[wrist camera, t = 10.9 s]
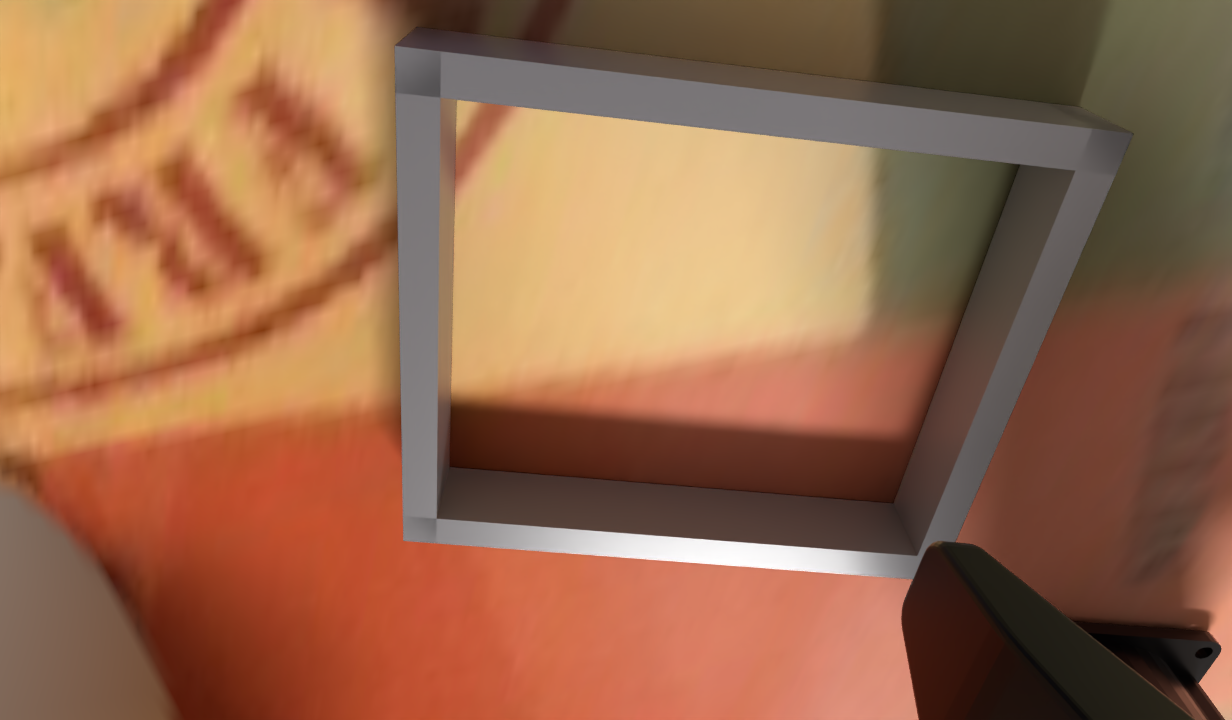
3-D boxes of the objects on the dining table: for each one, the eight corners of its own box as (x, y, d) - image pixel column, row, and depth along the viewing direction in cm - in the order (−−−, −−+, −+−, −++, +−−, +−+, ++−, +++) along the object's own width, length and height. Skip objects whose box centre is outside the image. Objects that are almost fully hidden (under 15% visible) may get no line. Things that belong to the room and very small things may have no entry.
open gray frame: (1080, 106, 17) (1133, 133, 15) (913, 527, 23) (938, 581, 21) (416, 26, 16) (395, 46, 14) (418, 488, 22) (403, 540, 20)
